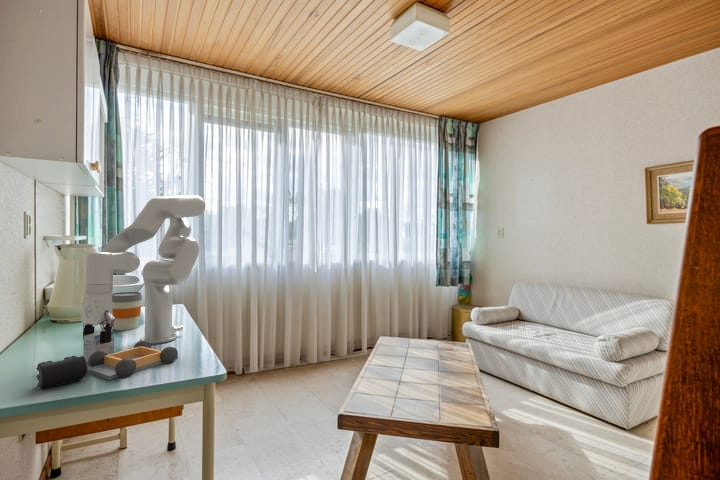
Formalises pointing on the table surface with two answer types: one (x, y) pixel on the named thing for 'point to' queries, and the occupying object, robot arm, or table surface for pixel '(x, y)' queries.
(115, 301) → the reusable coffee cup
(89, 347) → the medicine box
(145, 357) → the chassis
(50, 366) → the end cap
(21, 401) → the table surface
